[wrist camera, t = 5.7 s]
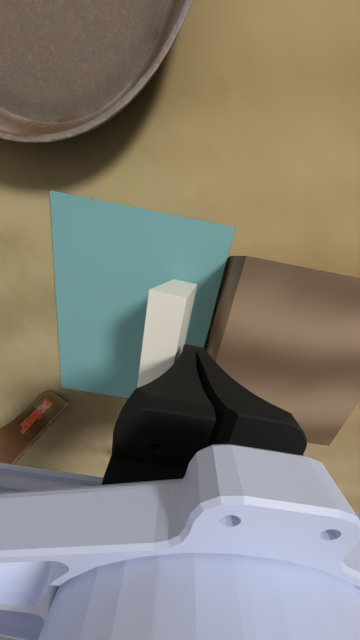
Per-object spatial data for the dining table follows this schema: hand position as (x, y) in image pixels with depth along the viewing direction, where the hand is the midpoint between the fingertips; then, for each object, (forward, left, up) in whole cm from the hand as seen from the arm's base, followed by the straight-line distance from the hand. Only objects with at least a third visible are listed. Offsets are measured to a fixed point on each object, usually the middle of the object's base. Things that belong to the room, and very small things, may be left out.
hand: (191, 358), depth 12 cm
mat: (0, +5, -5) cm, 7 cm away
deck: (0, -8, -5) cm, 9 cm away
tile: (0, +1, -1) cm, 1 cm away
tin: (-14, +15, -5) cm, 21 cm away
